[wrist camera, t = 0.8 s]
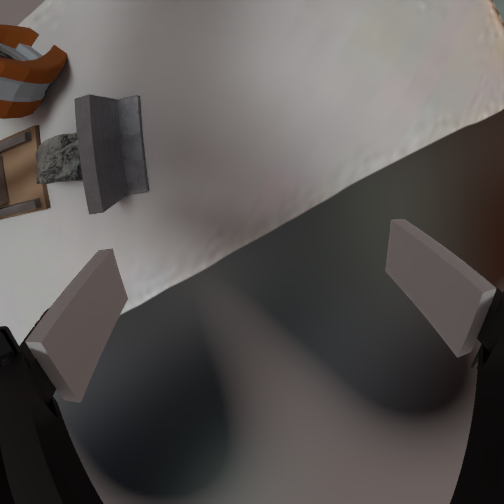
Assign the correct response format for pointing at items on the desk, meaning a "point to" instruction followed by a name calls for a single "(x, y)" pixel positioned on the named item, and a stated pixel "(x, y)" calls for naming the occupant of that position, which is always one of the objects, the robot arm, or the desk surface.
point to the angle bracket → (110, 149)
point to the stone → (58, 160)
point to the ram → (2, 185)
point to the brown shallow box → (22, 174)
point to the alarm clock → (24, 71)
